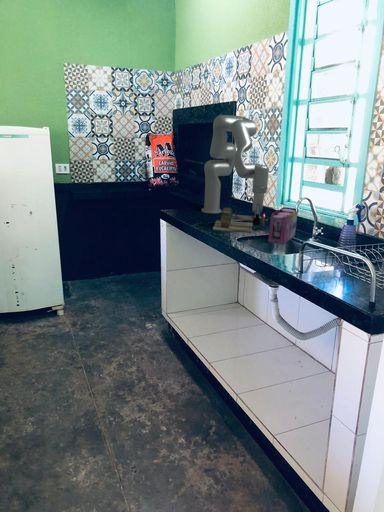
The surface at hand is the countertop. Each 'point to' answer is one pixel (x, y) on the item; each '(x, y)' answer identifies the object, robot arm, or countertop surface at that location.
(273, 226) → the gum box
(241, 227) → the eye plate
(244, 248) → the countertop surface
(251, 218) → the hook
